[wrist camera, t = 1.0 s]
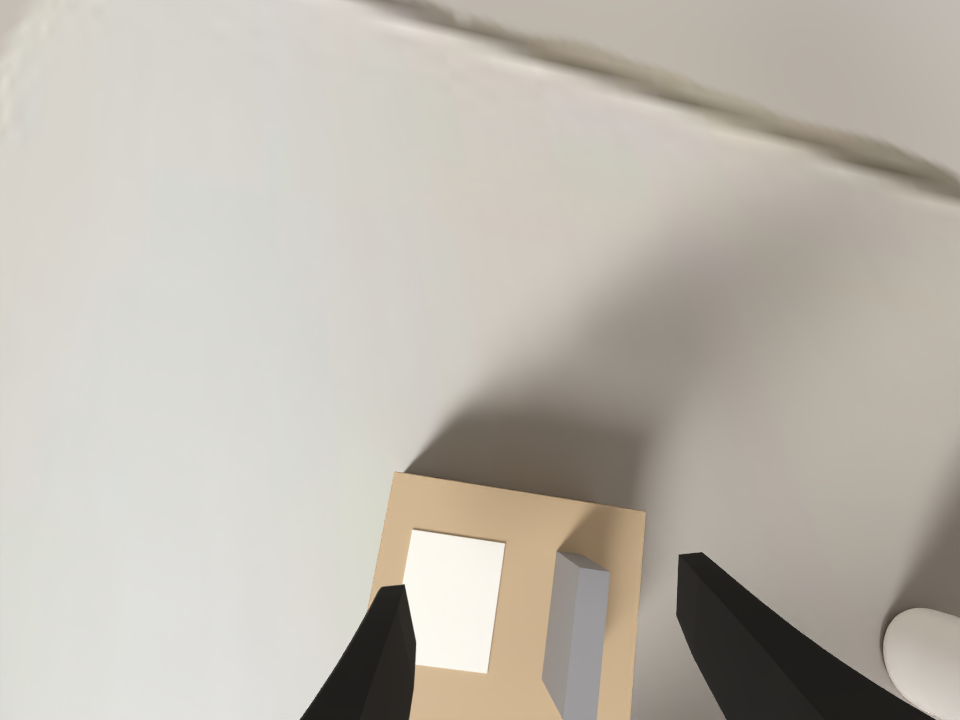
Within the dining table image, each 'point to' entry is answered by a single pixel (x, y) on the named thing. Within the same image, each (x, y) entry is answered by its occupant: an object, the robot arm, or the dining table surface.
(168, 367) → the dining table surface
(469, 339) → the dining table surface
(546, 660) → the sliding lid
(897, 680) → the drinking glass
